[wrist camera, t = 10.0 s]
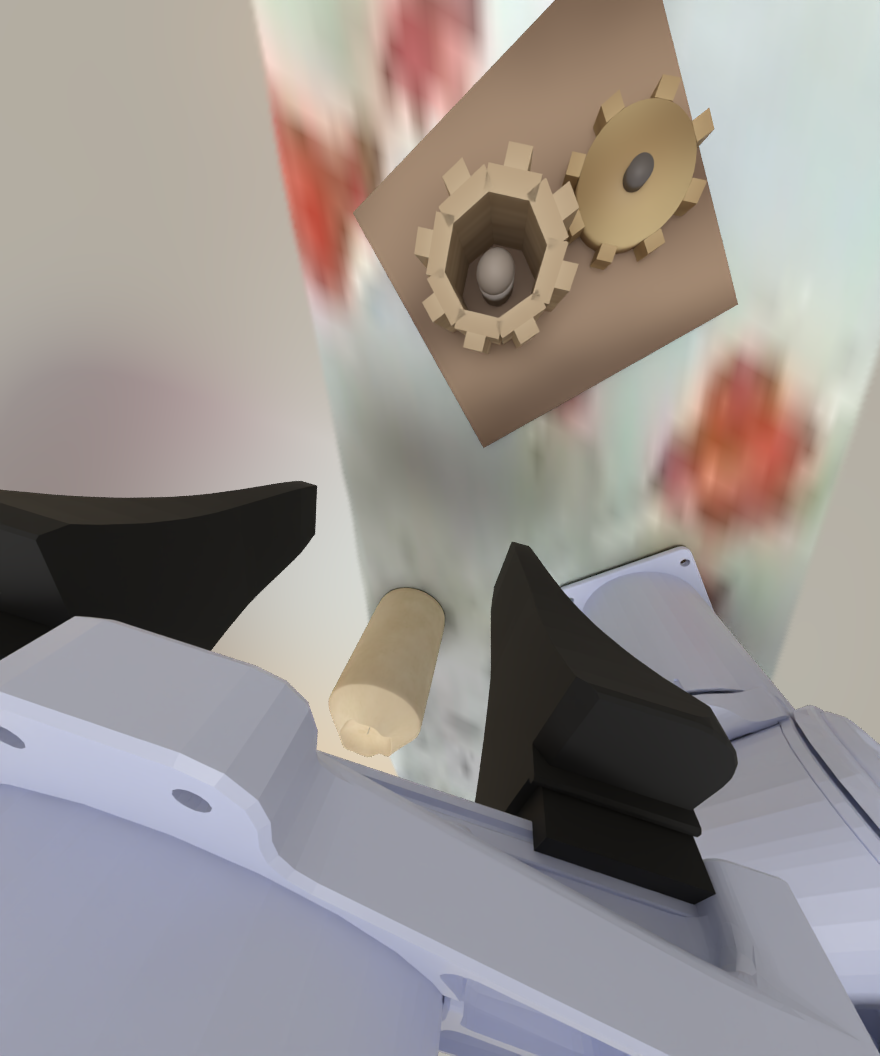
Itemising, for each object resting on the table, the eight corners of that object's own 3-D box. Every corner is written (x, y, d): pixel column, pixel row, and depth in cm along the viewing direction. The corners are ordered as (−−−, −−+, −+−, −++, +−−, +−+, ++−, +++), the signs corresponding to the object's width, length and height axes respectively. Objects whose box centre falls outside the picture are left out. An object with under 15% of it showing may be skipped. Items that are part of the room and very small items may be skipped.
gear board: (723, 308, 14) (814, 285, 10) (484, 444, 19) (478, 467, 15) (629, -53, 11) (708, -319, 7) (361, 221, 15) (306, 168, 11)
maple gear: (577, 308, 15) (607, 286, 10) (476, 376, 17) (464, 381, 12) (525, 178, 13) (534, 86, 9) (419, 270, 15) (384, 232, 11)
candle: (400, 574, 24) (341, 693, 16) (459, 613, 25) (434, 749, 16) (367, 615, 27) (300, 737, 18) (421, 650, 28) (382, 784, 19)
